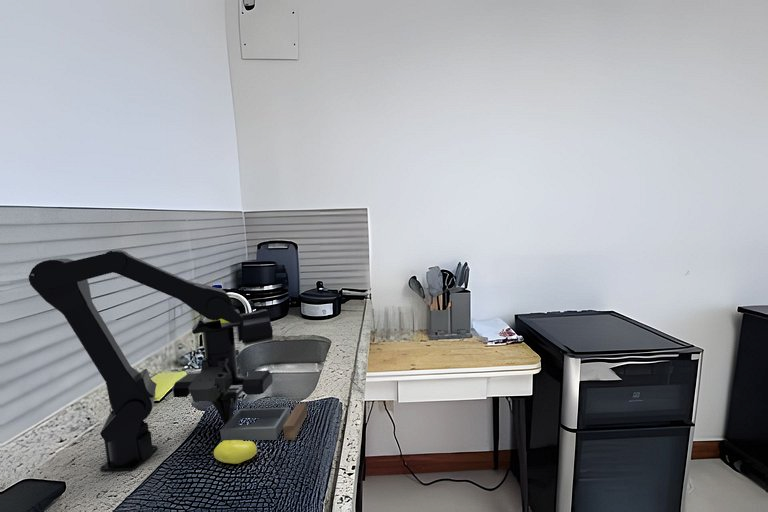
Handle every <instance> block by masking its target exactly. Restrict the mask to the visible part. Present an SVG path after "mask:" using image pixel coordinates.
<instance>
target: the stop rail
mask: <svg viewBox="0 0 768 512" xmlns="http://www.w3.org/2000/svg"><path fill="white" fill-rule="evenodd" d="M307 406H308V405H307V403H306V402H305V403H301V402H300V403H296V405H295V406H294V409H293V410H292V411H291V412H290V416H289V418H288V419H287V421H286V423H285V424H284V426H283V439H284V441H285V440H295V441H296V439H297V438H296V436H297V434H298V432H299V431H300V432H301V430H300V428H301V427H302V428H303V426H302V424H303V422H304V420H305V418H306V416H307V415H308V407H307ZM304 423H305V422H304ZM303 425H304V424H303ZM302 428H301V429H302ZM300 432H299V433H300ZM298 435H299V434H298ZM297 437H298V436H297ZM295 438H296V439H295Z"/></svg>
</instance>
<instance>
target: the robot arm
mask: <svg viewBox="0 0 768 512" xmlns="http://www.w3.org/2000/svg"><path fill="white" fill-rule="evenodd" d="M112 273H113V274H117V275H118V276H121V277H122V276H123V277H124V278H127V279H129V280H131V281H134V282H136V283H139V284H141V285H143V286H146V287H148V288H151V289H153V290H156V291H158V292H160V293H163V294H165V295H168V296H170V297H172V298H175V299H177V300H179V301H180V302H182V303H183V304H185V305H187V306H188V307H189V308H191V309H192V310H194V311H195V312H196V313H198V314H200V315H201V316H202V317H204V318H205V319H208V320H209V321H205V320H203V319H202V318H199V319H198V320H197V322H196V324H195V325H193V327H192V328H191V332H192V333H191V334H193V335H196V334H201V333H202V337H203V338H202V339H203V348H204V358H203V359H202V360H201V366H200V367H201V370H200V372H195V373H187V374H186V375H184V376H183V377H181V378H179V379H178V380H177V381H175V383H174V384H173V386H172V396H173V398H187V397H189V395H190V396H191V398H192V401H193V402H194V403H200V402H209V403H212V405H213V407H214V408H215V410H216V411H217V413H218V415H219V416H220V418H221V420H222V422H223V423H224V425H225V424H226V423H227V422H228V421H229V420H230V419H231V418H232V417H233V416H234V412H235V408H236V405H237V401H238V399H239V397H240V395H241V393H242V392H243V393H244V394H245V395H247V396H250V395H251V396H254V395H256V396H257V395H262V394H265V392H266V391H267V390H268V389H269V387H270V386H271V385H272V384H273V381H274V380H273V374H272V373H271V372H270V371H269V370H253V371H251V372H250V373H249V374H248V375H247V376H239V375H240V374H241V373H242V371H241V368H238V362H237V360H238V359H237V356H238V355H239V354H240V352H239V351H240V350H239V349H236V341H235V331H234V328H236V329H235V330H236V338H237V342H238V343H240V342H241V343H242V344H243V345H244V346H250V345H255V344H261V343H265V342H271V341H273V340H274V339H273V337H274V336H273V335H274V334H273V333H274V330H273V325H272V324H271V319H270V316H269V311H268V309H265V308H264V309H260V310H259V309H258V310H257V311H251V312H245V313H241V312H240V310H239V309H238V308H235V306H233V302H232V299H231V297H230V295H229V294H228V293H227V291H226V290H224V289H222V288H218V287H215V286H210V285H208V284H203V283H199V282H193V281H190V280H187V279H185V278H183V277H181V276H178V275H176V274H173V273H171V272H169V271H166V270H164V269H162V268H159V266H156V265H153V264H151V263H148V262H147V261H144V260H142V259H140V258H137V257H136V256H134V255H131V254H130V253H128V252H127V251H125V250H123V249H122V250H121V249H112V250H108V251H106V252H105V253H102V254H97V255H92V256H88V257H83V258H79V259H76V260H73V259H71V258H54V259H48V260H43V261H40V262H39V263H36V265H34V266H33V267H32V269H31V270H30V273H29V274H28V282H29V284H30V286H31V288H32V289H33V290H34V291H36V294H37V293H38V295H39V296H40V297H41V298H42V299H43V300H44V301H45V302H46V304H47V303H48V304H49V305H50V306H52V308H55V310H57V311H58V312H60V313H61V315H63V316H64V318H65V319H66V321H67V322H68V324H69V326H70V327H71V329H72V331H73V332H74V333H75V335H76V337H77V339H78V340H79V341H80V344H81V345H82V347H83V349H84V350H85V352H86V353H87V354H88V356H89V358H90V360H91V361H92V363H93V365H94V366H95V367H96V369H97V370H98V372H99V374H100V375H101V377H102V379H103V380H104V383H105V385H106V389H107V397H108V400H109V405H110V407H111V411H110V412H109V414H108V417H107V419H106V421H105V422H104V425H103V427H102V429H101V430H100V433H99V434H100V436H101V437H102V439H103V442H104V447H105V455H106V462H105V463H104V464H103V465H102V466H100V467H99V470H100V471H101V472H102V471H103V472H107V471H108V472H111V471H112V472H113V471H114V472H115V471H133V470H136V469H137V467H139V466H140V465H141V464H142V463H144V461H145V460H146V459H148V458H149V457H150V456H151V455H152V454H153V453H154V452H156V451H157V450H158V445H153V441H152V440H153V439H152V434H151V433H152V431H150V430H149V423H148V422H145V420H146V419H147V418H148V417H149V415H151V412H152V410H153V407H154V403H155V400H156V399H155V398H156V390H157V385H158V384H157V383H156V382H154V380H153V379H151V375H150V373H149V371H148V369H147V368H144V369H142V371H140V372H139V371H138V370H136V369H135V368H134V367H132V365H131V364H130V363H129V361H128V359H127V358H126V356H125V354H124V352H123V351H122V349H121V348H120V346H119V344H118V342H117V341H116V340H115V338H114V336H113V334H112V332H111V331H110V329H109V328H108V326H107V324H106V322H105V321H104V319H103V318H102V316H101V314H100V313H99V312H100V311H98V309H97V308H96V306H95V304H94V302H93V300H92V294H91V289H90V288H91V287H90V284H89V281H88V280H89V279H93V278H96V277H101V276H105V275H108V274H109V275H110V274H112ZM221 320H224V321H225V322H221Z"/></svg>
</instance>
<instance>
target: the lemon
mask: <svg viewBox="0 0 768 512" xmlns="http://www.w3.org/2000/svg"><path fill="white" fill-rule="evenodd" d="M257 452H258V447H257V445H256V444H255V441H243V440H224V441H222V442H219V444H218V445H217V446H216V447H215V448H214V450H213V457H214V458H215V459H216V460H217V461H219V462H222V463H225V464H234V465H235V464H241V463H243V462H245V461H247V460H251V459H252V458H253V457H254V456H255V455H256V453H257Z"/></svg>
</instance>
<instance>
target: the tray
mask: <svg viewBox="0 0 768 512" xmlns="http://www.w3.org/2000/svg"><path fill="white" fill-rule="evenodd" d="M290 415H291V411H290V407H289V406H287V407H285V406H284V407H265V408H264V407H263V408H262V407H261V408H259V407H257V408H240V409H238V410H237V411H236V412H235V413H234V414H233V415H232V418H231V419H230V420H229V421H228V422H227V423H226V424H225V423H224V425H223V426H222V427H221V429H220V430H219V432H220V441H224V440H255V439H256V440H276V441H278V440H279V438H280V436H281V435H280V433H281V431H282V429H283V426H284V424H285V423H286V421H287V419H288V418H289V416H290ZM279 417H280V418H279ZM241 418H259V419H258V420H257V421H256V422H251V424H248V425H247V424H242V425H240V426H239V424H238V422H239V421H240V419H241ZM282 432H283V431H282ZM281 434H282V433H281ZM279 435H280V436H279ZM278 437H279V438H278Z"/></svg>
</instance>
